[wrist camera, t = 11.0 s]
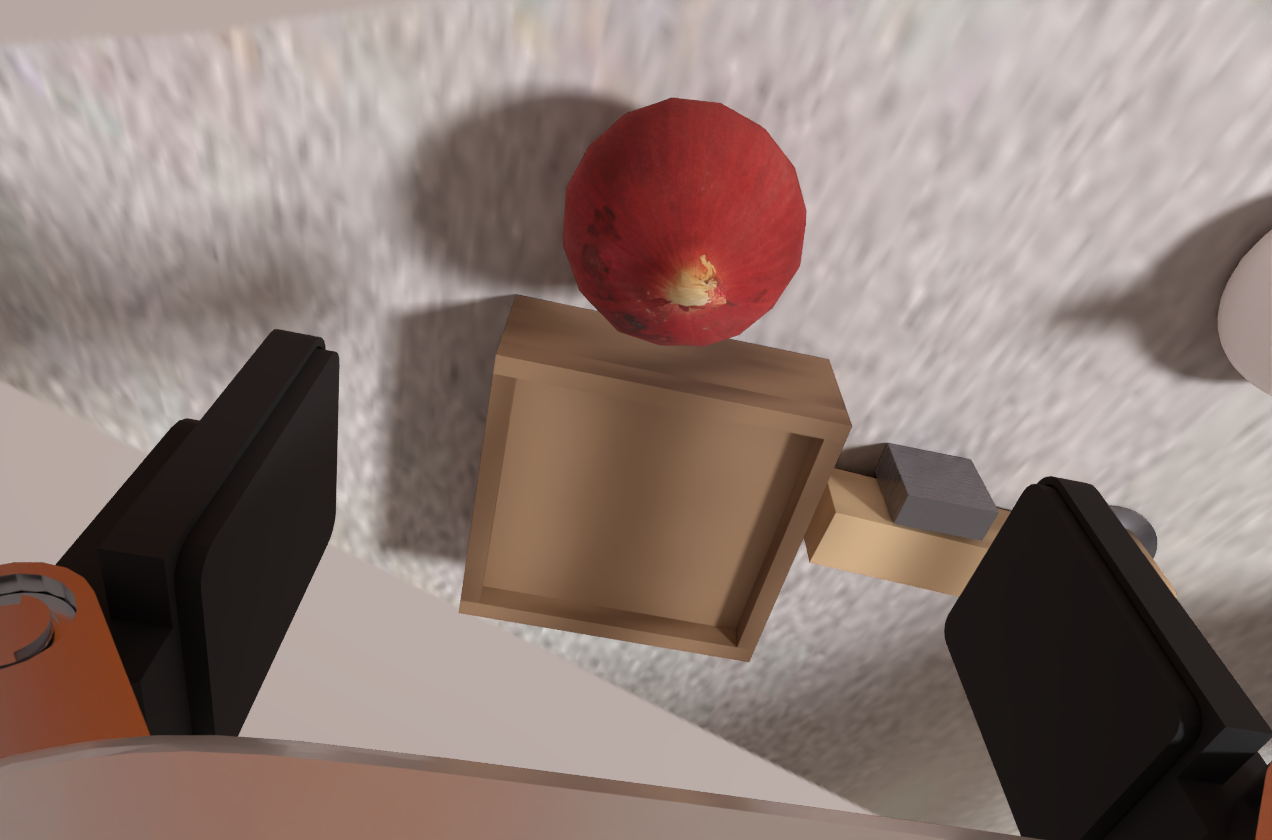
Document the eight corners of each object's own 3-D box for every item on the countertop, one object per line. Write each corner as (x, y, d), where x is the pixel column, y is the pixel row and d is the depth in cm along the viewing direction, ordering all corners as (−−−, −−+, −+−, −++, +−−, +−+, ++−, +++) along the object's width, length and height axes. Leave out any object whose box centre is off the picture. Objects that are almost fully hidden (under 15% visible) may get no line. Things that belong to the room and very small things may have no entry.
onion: (667, 312, 26) (669, 466, 19) (533, 171, 23) (482, 290, 17) (824, 188, 23) (890, 315, 17) (694, 20, 21) (710, 88, 14)
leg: (1159, 536, 30) (1197, 586, 28) (1108, 597, 31) (1140, 649, 29) (828, 453, 28) (842, 500, 26) (793, 523, 30) (803, 573, 28)
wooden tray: (828, 359, 26) (852, 426, 23) (740, 583, 32) (748, 661, 29) (516, 294, 25) (495, 354, 22) (479, 536, 31) (458, 612, 28)
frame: (1190, 503, 29) (1260, 587, 26) (1114, 604, 32) (1169, 692, 28) (887, 443, 28) (919, 522, 25) (835, 553, 31) (857, 638, 27)
